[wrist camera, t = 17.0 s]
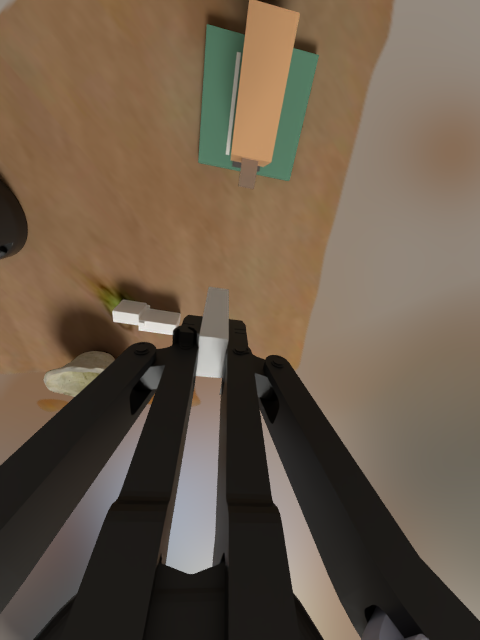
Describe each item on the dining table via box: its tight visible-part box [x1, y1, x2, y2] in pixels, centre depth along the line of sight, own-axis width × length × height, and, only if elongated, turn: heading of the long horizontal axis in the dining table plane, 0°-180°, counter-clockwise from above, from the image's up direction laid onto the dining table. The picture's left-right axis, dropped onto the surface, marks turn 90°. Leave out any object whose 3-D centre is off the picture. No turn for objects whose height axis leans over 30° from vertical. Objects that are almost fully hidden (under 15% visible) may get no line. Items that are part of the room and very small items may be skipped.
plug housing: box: [231, 0, 300, 189], centre depth 27 cm, size 5×15×7 cm, turn 171°
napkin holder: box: [112, 300, 181, 335], centre depth 45 cm, size 15×11×6 cm
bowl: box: [44, 351, 115, 396], centre depth 49 cm, size 15×14×10 cm
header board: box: [198, 24, 319, 181], centre depth 29 cm, size 14×14×7 cm
